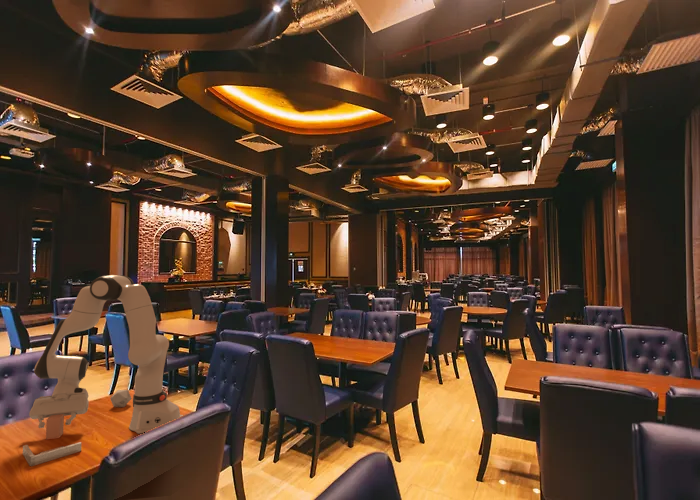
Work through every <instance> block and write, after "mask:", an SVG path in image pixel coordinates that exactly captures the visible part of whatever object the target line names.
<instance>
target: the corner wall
mask: <svg viewBox="0 0 700 500" xmlns="http://www.w3.org/2000/svg"><path fill="white" fill-rule="evenodd" d="M79 452H82V442H81V441H79V442H75V443H72V444H69V445H66V446H63V445H62V446H61V445H60V446H59V447H55V448H51V449H48V450H45V451H42V452H39V453H38V454H36V455H35V454H34V453H33V452H32V450H31V448H30V446H29V445H28V444H25V445H22V455H23V457H24V459H25V460H26V462H27V464H28V466H29V467H30V466H31V467H33V466H36V465H40V464H44V463H46V462H50V461H54V460H56V459H60V458H63V457H66V456H69V455H73V454H76V453H79Z"/></svg>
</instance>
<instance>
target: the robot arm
mask: <svg viewBox="0 0 700 500" xmlns="http://www.w3.org/2000/svg"><path fill="white" fill-rule="evenodd" d="M107 301H120V302H121V303H122V306H123V309H124V314H125V317H126V321H127V324H128V330H129V350H128V352H127V353H128V354H127V357H128V360H129V362H130V363H131V364H133V365H135V366H138V369H137V372H136V373H135V377H134V393H133V397H132V408H133V409H132V415H131V421H130V423H129V426H128V429H129V430H130V431H133V432H136V434H145V433H144V432H146V431H148V430H151V429H153V428H155V427H158V426H160V425H162V424H165V423H167V422H169V421H172V420H174V419H177V418H179V417H181V416H183V415H184V414H181V411H180V407H179V405H177V404H176V403H174V402H172V401H171V400H169V399H168V397H167V396H168V391H164V390H163V379H164V377H163V376H164V370H165V369H164V368H165V365H166V364H165V363H166V360H167V359H166V358H167V353H168V350H169V347H170V341H169V339H168V338H167V336H165V335H162V334H156V328H157V327H156V326H157V318H156V315H155V310H154V307H153V304H152V301H151V298H150V295H149V293H148V291H147V289H146V287H145V286H144V285H142V284H141V283H140V284H138V283H134V281H133V279H131V278H130V277H129V276H126V275H116V274H110V275H102V276H99V277H97V278H95V279H93V280H92V281H91V283H90V285H87V286H84V287H82V288H81V289H80V290H79V292H78V294H77V296H76V299H75V301H74V304H73V308H72V310H71V312H70V314H69V315H68V316H67V317H66V318H62V319H61V320H60V321H59V323H58V324H57V326H56V328H55V329H54V331H53V333H52V335H51V337H50V339H49V341H48V343H47V345H46V347H45V349H44V350H43V353H42V354H41V356H40V357H39V359H38V360H37V361H36V364H35V366H34V369H33V371H34V375H36V377H37V378H39V379H40V380H44V379H45V380H46V379H48V380H49V379H57V383H56V385H55V386H54V389H53V391H52V394H51V395H46V396H42V395H41V396H39V397H37V398H35V399H34V402H33V404H32V407H31V409H30V410H29V413H28V415H29V418H31V420H38V422H39V423H38V428H39V429H43V428H45V425H46V423H45V422H44V419H48V418H49V417H50V416H51V415H60V414H64V417H66V416H70V417H69V418H67V419H66V420H65V424H64V425H65V426H70V425H71V423H72V421H73V420H74V419H75V418H76V417H77V415H84V414H86V413H87V412H88V409H89V402H90V401H89V392H88V390H87V389H86V388H84V387H79V385H80V383H81V381H82V380H83V379H84V378H85V377H86V373H87V370H88V369H89V361H88V360H87V358H85V357H83V356H77V355H76V356H75V355H61V354H60V355H58V354H56V351H57V349H58V347H59V346H60V344H61V342H62V340H63V338H65V337H66V336H68V335H70V334H75V333H79V332H84V331H87V330H89V329H92V328H94V327H95V326H96V325H97V324H98V323H99V321H100V319H101V316H102V313H103V310H104V305H105V303H106V302H107Z"/></svg>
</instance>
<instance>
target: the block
mask: <svg viewBox="0 0 700 500" xmlns="http://www.w3.org/2000/svg"><path fill="white" fill-rule="evenodd" d="M64 422H65V416H64V414H60V415H51V416H50V417H49V418H46V423H45V425H46V427H45V440H50V439H52V440H53V439H60V437H61V436H62V435H63V434H64V425H65V424H64Z"/></svg>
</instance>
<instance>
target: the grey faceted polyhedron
mask: <svg viewBox="0 0 700 500" xmlns="http://www.w3.org/2000/svg"><path fill="white" fill-rule="evenodd" d="M109 399H110V401H111V404H112V406H113V408H125V407H126V406H127V405H128V403H129V402H130V401H131V400H133V397H132V396H131V394H130V392H129V390H128V389H118V390H116V392H114V393H113V394H112V396H111V397H109Z"/></svg>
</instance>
